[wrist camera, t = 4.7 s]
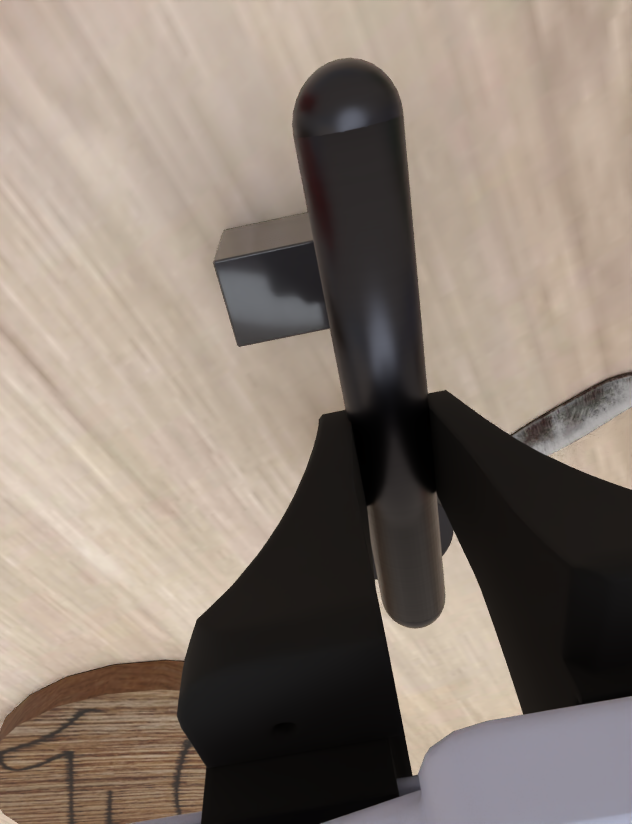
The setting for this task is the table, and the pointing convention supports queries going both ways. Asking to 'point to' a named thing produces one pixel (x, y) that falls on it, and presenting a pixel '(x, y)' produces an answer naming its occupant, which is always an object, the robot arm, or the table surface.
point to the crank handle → (375, 320)
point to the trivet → (101, 750)
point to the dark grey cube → (271, 280)
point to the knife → (578, 416)
